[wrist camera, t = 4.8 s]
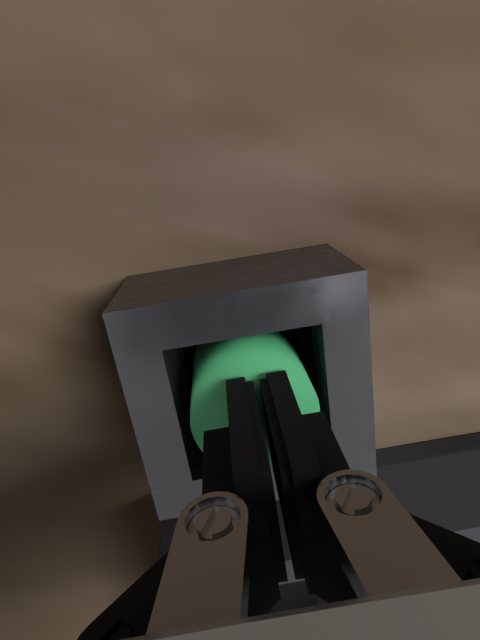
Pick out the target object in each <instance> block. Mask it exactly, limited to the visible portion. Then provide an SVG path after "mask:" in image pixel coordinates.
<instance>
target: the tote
mask: <svg viewBox="0 0 480 640" xmlns="http://www.w3.org/2000/svg"><path fill="white" fill-rule="evenodd" d="M376 467H377V477H378V478H380V479H381V480H382V481H383V482H384V483H385V484H386V485H387V486H388V488H389V489H390V490H391V491H392V493H393V494H394V495H395V497H396V498H397V499H398V500H399V502H400V503H401V504H402V505H403V507H404V508H405V509H406V510H407V512H408V513H409V514H412V515H414V516H417V517H419V518H421V519H424V520H426V521H429V522H431V523H434V524H436V525H438V526H441V527H443V528H446V529H448V530H450V531H453V532H455V533H458V534H460V535H462V536H465V537H467V538H470V539H472V540H474V541H477V542H479V543H480V432H478V433H472V434H466V435H461V436H455V437H449V438H443V439H437V440H431V441H425V442H420V443H414V444H408V445H402V446H396V447H390V448H384V449H378V450H376ZM276 506H277V512H278V519H279V525H280V532H281V538H282V545H283V551H284V558H285V565H286V571H287V578H288V581H287V582H281V583H278V584H279V590H280V596H281V600H278V601H277V603H276V604H275V605H274V607H273V608H272V609H271V611H270V612H269V613H274V612H280V611H286V610H291V609H297V608H303V607H309V606H315V605H318V604H317V596H316V595H315V594H313V595H308V591H307V586H306V582H305V578H304V579H298V580H296V579H295V575H294V570H293V565H292V560H291V555H290V550H289V546H288V541H287V536H286V531H285V526H284V521H283V517H282V512H281V507H280V502H279V500H277V501H276ZM177 520H178V518H172V519H166V520H163V526H162V534H161V542H160V550H159V558H158V560H159V559H160V558H162V557H163V556H164V555H165V554H166V553H167V552H168V551H169V549H170V545H171V542H172V538H173V534H174V531H175V527H176V524H177Z"/></svg>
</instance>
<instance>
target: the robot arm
mask: <svg viewBox="0 0 480 640" xmlns="http://www.w3.org/2000/svg"><path fill="white" fill-rule="evenodd" d="M259 382H260V389H261V396H262V402H263V409H264V416H265V422H266V429H267V436H268V442H269V449H270V455H271V462H272V468H273V473H274V478H275V483H276V487H277V492H278V497H279V502H280V507H281V512H282V517H283V521H284V526H285V531H286V536H287V541H288V546H289V550H290V555H291V560H292V565H293V570H294V575H295V579H296V580H298V579H304V578H305V582H306V586H307V591H308V595H313V594H315V595H316V596H318V597H319V598H321V599H323V600H324V601H326V602H327V603H326V604H320V605H315V606H309V607H303V608H297V609H291V610H286V611H280V612H274V613H269V612H270V611H271V609H272V608H273V607H274V605H275V604H276V603H277V601H278V600H281V596H280V590H279V584H278V583H281V582H287V581H288V578H287V571H286V565H285V558H284V551H283V545H282V538H281V532H280V525H279V519H278V512H277V506H276V499H275V493H274V486H273V480H272V474H271V468H270V463H269V458H268V453H267V448H266V443H265V438H264V433H263V428H262V423H261V418H260V413H259V408H258V403H257V398H256V393H255V388H254V383H253V381H248V382H245V377H240V378H234V379H228V380H226V395H227V409H228V423H229V427H224V428H218V429H212V430H206V431H204V435H203V474H202V495H201V496H199V497H196V498H195V499H194V500H192V501H191V502H189V503H188V504H187V505H186V506H185V507H184V509H183V510H182V511H181V513H180V515H179V517H178V520H177V524H176V527H175V531H174V534H173V538H172V542H171V545H170V549H169V551H168V552H167V553H166V554H165V555H164V556H163V557H162V558H160V559H159V560H158V561H157V562H156V563H155V564H154V565H153V566H152V567H151V568H150V569H149V570H148V571H147V572H145V573H144V574H143V575H142V576H141V577H140V578H139V579H138V580H137V581H136V582H135V583H134V584H133V585H131V586H130V587H129V588H128V589H127V590H126V591H125V592H124V593H123V594H122V595H121V596H120V597H119V598H117V599H116V600H115V601H114V602H113V603H112V604H111V605H110V606H109V607H108V608H107V609H106V610H105V611H104V612H102V613H101V614H100V615H99V616H98V617H97V618H96V619H95V620H94V621H93V622H92V623H91V624H90V625H89V626H88V627H87V628H86V629H85V630H84V631H83V633H82V634H81V635H80V636H79V638H78V639H77V640H480V543H479V542H477V541H474V540H472V539H470V538H467V537H465V536H462V535H460V534H458V533H455V532H453V531H450V530H448V529H446V528H443V527H441V526H438V525H436V524H434V523H431V522H429V521H426V520H424V519H421V518H419V517H417V516H414V515H412V514H409V513H408V512H407V510H406V509H405V508H404V507H403V505H402V504H401V503H400V502H399V500H398V499H397V498H396V497H395V495H394V494H393V493H392V491H391V490H390V489H389V488H388V486H387V485H386V484H385V483H384V482H383V481H382V480H381V479H380V478H378V477H377V476H375V475H373V474H371V473H368V472H365V471H361V470H350V468H349V466H348V463H347V461H346V459H345V457H344V455H343V453H342V450H341V448H340V446H339V444H338V442H337V440H336V437H335V435H334V433H333V431H332V429H331V427H330V424H329V422H328V420H327V418H326V416H325V414H324V412H323V411H320V412H314V413H308V414H301V411H300V409H299V406H298V403H297V400H296V398H295V395H294V392H293V390H292V387H291V384H290V381H289V379H288V376H287V373H286V371H285V370H283V371H277V372H271V373H266V379H260V380H259Z"/></svg>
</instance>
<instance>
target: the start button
mask: <svg viewBox="0 0 480 640" xmlns="http://www.w3.org/2000/svg"><path fill="white" fill-rule="evenodd" d="M283 370H285V371H286V373H287V376H288V379H289V381H290V384H291V387H292V390H293V392H294V395H295V398H296V400H297V403H298V406H299V409H300V411H301V414H308V413H314V412H320V406H319V400H318V397H317V394H316V392H315V390H314V388H313V386H312V383H311V381H310V379H309V377H308V375H307V373H306V371H305V369H304V366H303V364H302V362H301V360H300V358H299V356H298V354H297V352H296V350H295V347H294V345H293V343H292V341H291V339H290V338H289V336H288V335H287V333H286V332H285V331H284V330H283V331H277V332H271V333H265V334H259V335H253V336H247V337H241V338H235V339H229V340H223V341H217V342H211V343H205V344H199V345H198V346H197V348H196V352H195V356H194V365H193V379H192V393H191V408H190V426H191V431H192V434H193V437H194V439H195V441H196V443H197V445H198V446H199V448H200V449H201V450H202V452H203V435H204V431H206V430H212V429H218V428H224V427H229V423H228V409H227V395H226V380H228V379H234V378H240V377H245V382H248V381H253V383H254V388H255V393H256V398H257V403H258V408H259V413H260V418H261V423H262V428H263V433H264V438H265V443H266V448H267V453H268V458H269V463H270V468H271V470H272V469H273V468H272V462H271V455H270V449H269V442H268V436H267V429H266V422H265V416H264V409H263V402H262V396H261V389H260V382H259V380H260V379H266V373H271V372H277V371H283Z"/></svg>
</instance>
